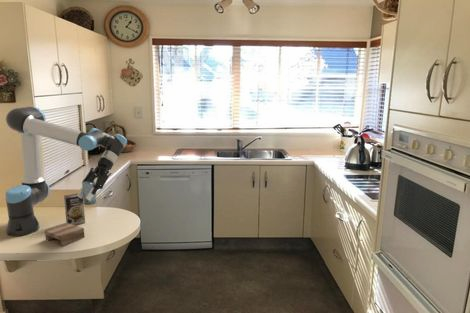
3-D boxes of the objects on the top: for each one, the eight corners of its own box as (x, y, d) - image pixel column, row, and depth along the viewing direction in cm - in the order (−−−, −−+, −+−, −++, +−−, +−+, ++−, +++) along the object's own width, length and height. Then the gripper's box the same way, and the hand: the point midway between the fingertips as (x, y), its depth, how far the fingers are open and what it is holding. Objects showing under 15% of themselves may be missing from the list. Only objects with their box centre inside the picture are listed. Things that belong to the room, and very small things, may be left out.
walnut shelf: (45, 240, 179) (44, 230, 178) (67, 231, 189) (66, 222, 188) (63, 246, 172) (61, 236, 171) (84, 237, 182) (83, 228, 181)
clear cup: (81, 203, 182) (79, 183, 180) (91, 200, 187) (89, 180, 185) (89, 205, 179) (87, 184, 177) (99, 202, 184) (97, 181, 182)
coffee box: (68, 226, 196) (65, 198, 193) (66, 222, 201) (63, 195, 198) (85, 222, 201) (83, 195, 198) (83, 219, 206) (80, 192, 203)
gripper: (124, 166, 188) (101, 205, 178) (100, 162, 197) (76, 198, 187) (115, 158, 182) (91, 198, 172) (91, 154, 192) (66, 191, 181)
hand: (83, 198), depth 180 cm, fingers closed on clear cup, 6 cm apart
